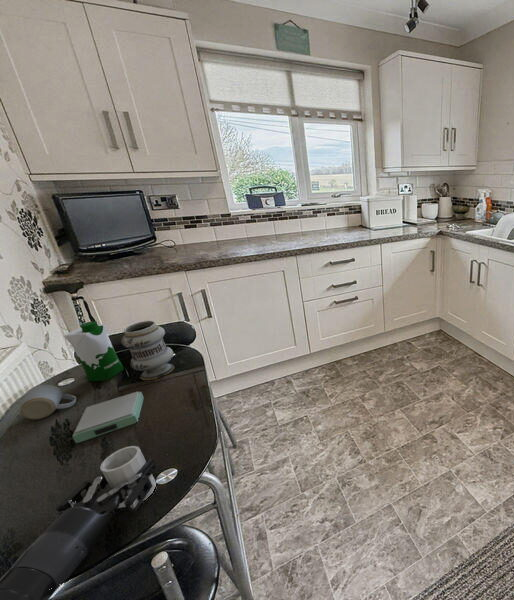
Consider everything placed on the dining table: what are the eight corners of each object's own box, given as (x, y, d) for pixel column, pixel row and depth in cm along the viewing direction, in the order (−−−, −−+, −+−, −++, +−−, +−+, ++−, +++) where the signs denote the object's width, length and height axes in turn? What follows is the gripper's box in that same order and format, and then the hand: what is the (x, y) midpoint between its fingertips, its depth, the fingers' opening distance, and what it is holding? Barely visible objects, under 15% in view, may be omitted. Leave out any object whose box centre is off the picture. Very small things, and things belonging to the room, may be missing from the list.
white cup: (117, 514, 64) (96, 477, 60) (123, 490, 69) (104, 455, 66) (155, 497, 67) (137, 461, 63) (158, 476, 72) (141, 441, 68)
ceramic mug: (25, 425, 92) (12, 403, 89) (32, 411, 98) (20, 389, 95) (75, 409, 98) (64, 387, 95) (79, 396, 104) (69, 375, 101)
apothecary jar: (143, 386, 106) (122, 337, 100) (132, 375, 113) (111, 329, 107) (183, 368, 115) (166, 322, 108) (170, 359, 122) (154, 315, 115)
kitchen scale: (75, 444, 83) (70, 435, 82) (89, 415, 94) (85, 406, 93) (137, 423, 89) (133, 414, 88) (143, 397, 100) (140, 389, 99)
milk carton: (107, 382, 110) (82, 329, 103) (82, 383, 111) (55, 330, 104) (128, 367, 119) (106, 317, 111) (105, 368, 119) (82, 319, 112)
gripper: (94, 530, 51) (164, 447, 67) (4, 536, 51) (95, 452, 67) (113, 561, 54) (176, 473, 69) (28, 567, 54) (110, 478, 70)
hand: (136, 463), depth 68 cm, fingers closed on white cup, 6 cm apart
